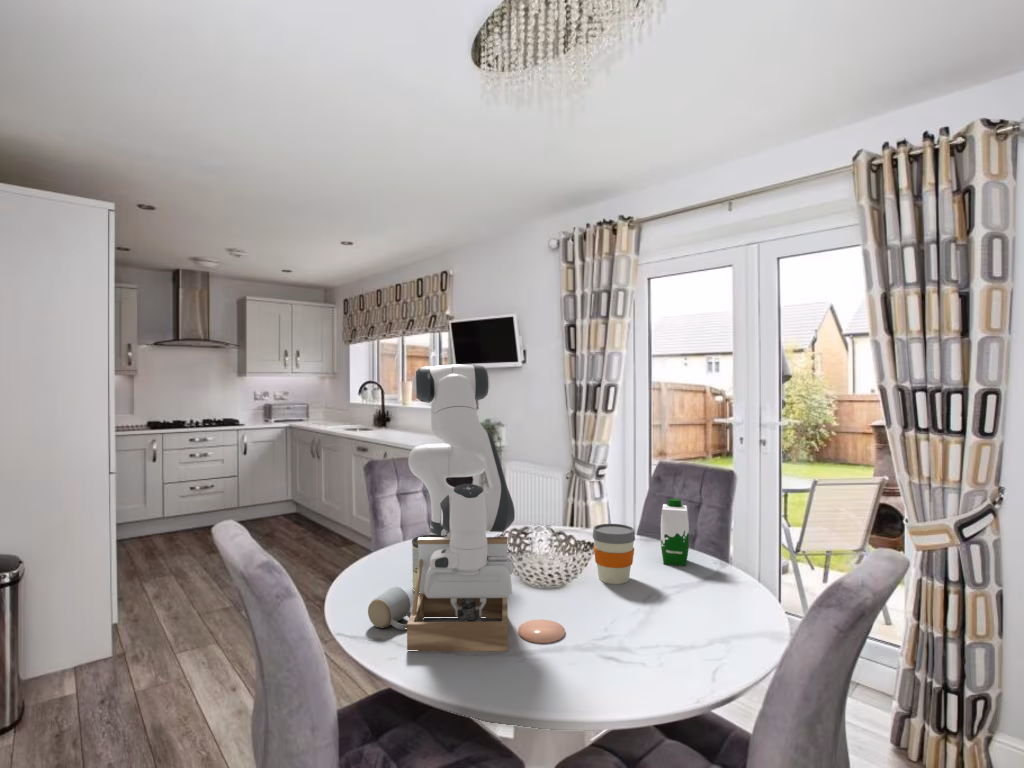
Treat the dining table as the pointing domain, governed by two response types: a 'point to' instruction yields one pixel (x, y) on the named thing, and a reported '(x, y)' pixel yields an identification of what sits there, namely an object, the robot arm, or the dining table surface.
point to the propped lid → (432, 544)
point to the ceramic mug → (390, 608)
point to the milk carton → (674, 532)
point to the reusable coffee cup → (613, 552)
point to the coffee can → (415, 556)
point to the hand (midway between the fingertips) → (468, 615)
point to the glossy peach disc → (541, 631)
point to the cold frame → (457, 627)
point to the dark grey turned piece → (468, 611)
